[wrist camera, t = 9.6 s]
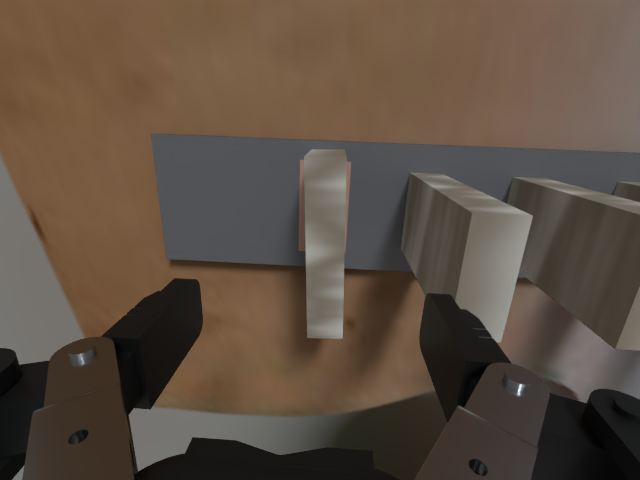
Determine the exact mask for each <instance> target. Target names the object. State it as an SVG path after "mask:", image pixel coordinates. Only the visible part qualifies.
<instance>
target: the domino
mask: <svg viewBox="0 0 640 480" xmlns="http://www.w3.org/2000/svg"><path fill="white" fill-rule="evenodd" d="M346 164H347V156H346V153H345V150H344V149H311V150H310V151H309V152H308V153H307V154H306V155H305V156H304V190H305V245H306V299H307V338H327V339H343V298H344V253H345V209H346Z"/></svg>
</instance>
